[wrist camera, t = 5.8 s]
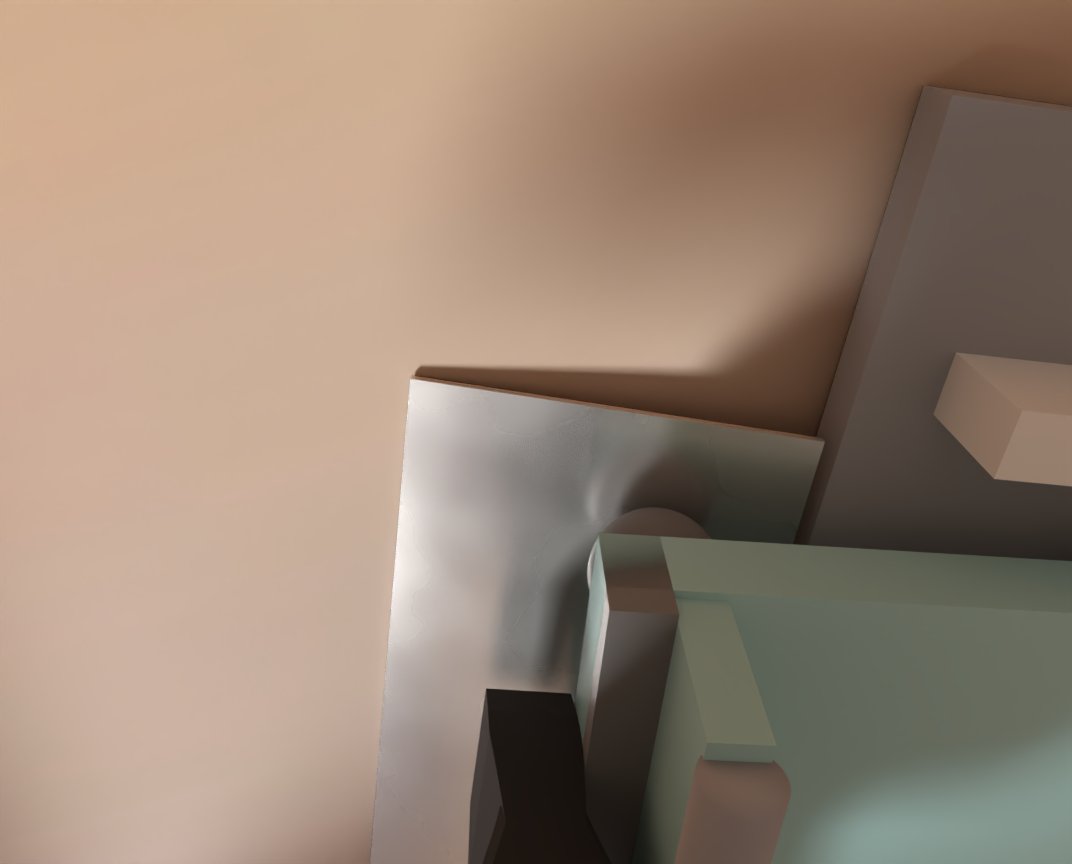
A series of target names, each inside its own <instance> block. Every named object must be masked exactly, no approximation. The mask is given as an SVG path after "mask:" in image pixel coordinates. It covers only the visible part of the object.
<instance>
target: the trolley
mask: <svg viewBox="0 0 1072 864" xmlns="http://www.w3.org/2000/svg"><path fill="white" fill-rule="evenodd" d="M587 579H588V586H589V591H590V596H589V603H588V610H587V617H586V625H585V632H584V639H583V646H582V654H581V661H580V668H579V675H578V683H577V690H576V697H575V704H574V706H575V709H576V713H577V717H578V721H579V726H580V731H581V738H582V745H583V758H584V775H585V794H586V814H587V816H588V818H589V820H590V822H591V824H592V826H593V828H594V830H595V832H596V834H597V836H598V838H599V840H600V842H601V844H602V846H603V848H604V850H605V852H606V854H607V856H608V857H609V859H610V861H611V863H612V864H1072V561H1059V560H1043V559H1026V558H1010V557H993V556H977V555H960V554H944V553H927V552H910V551H894V550H877V549H861V548H844V547H828V546H811V545H795V544H778V543H762V542H745V541H728V540H712V539H711V538H710V537H709V536H708V534H707V533H706V532H705V531H704V529H703V528H702V527H701V526H699V525H698V524H697V523H696V522H695V521H693V520H692V519H690V518H689V517H687V516H685V515H684V514H681V513H679V512H676V511H673V510H670V509H666V508H658V507H649V508H641V509H637V510H633V511H630V512H628V513H626V514H623V515H621V516H620V517H618V518H616V519H615V520H614V521H612V522H611V523H610V524H609V525H608V526H607V527H606V528H605V529H604V530H603V531H602V532H601V533H598V537H597V540H596V542H595V543H594V545H593V548H592V550H591V553H590V557H589V561H588V569H587Z"/></svg>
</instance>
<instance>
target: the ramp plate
mask: <svg viewBox="0 0 1072 864" xmlns="http://www.w3.org/2000/svg"><path fill="white" fill-rule="evenodd" d="M824 443H825V441H824V439H823V438H819V437H812V436H806V435H799V434H793V433H786V432H780V431H773V430H766V429H760V428H753V427H747V426H740V425H734V424H727V423H720V422H714V421H707V420H701V419H694V418H688V417H681V416H674V415H668V414H661V413H655V412H648V411H642V410H635V409H629V408H622V407H615V406H609V405H602V404H596V403H589V402H583V401H576V400H569V399H563V398H556V397H550V396H543V395H537V394H530V393H523V392H517V391H510V390H504V389H497V388H491V387H484V386H477V385H471V384H464V383H458V382H451V381H445V380H438V379H431V378H425V377H418V376H411V378H410V389H409V401H408V413H407V425H406V437H405V449H404V461H403V472H402V484H401V496H400V508H399V520H398V532H397V544H396V556H395V568H394V580H393V592H392V604H391V616H390V628H389V640H388V652H387V664H386V676H385V688H384V700H383V712H382V724H381V736H380V748H379V760H378V772H377V784H376V796H375V808H374V820H373V832H372V844H371V856H370V864H468V850H469V821H470V799H471V792H472V785H473V778H474V771H475V764H476V756H477V749H478V742H479V735H480V728H481V721H482V714H483V707H484V699H485V692H486V688H488V689H505V690H521V691H538V692H554V693H571V695H572V699H573V702H574V704H575V697H576V690H577V683H578V675H579V668H580V661H581V654H582V646H583V639H584V632H585V625H586V617H587V610H588V603H589V596H590V591H589V586H588V579H587V569H588V561H589V557H590V553H591V550H592V548H593V545H594V543H595V542H596V540H597V537H598V533H601V532H602V531H603V530H604V529H605V528H606V527H607V526H608V525H609V524H610V523H611V522H612V521H614V520H615V519H616V518H618V517H620V516H621V515H623V514H626V513H628V512H630V511H633V510H637V509H641V508H649V507H658V508H666V509H670V510H673V511H676V512H679V513H681V514H684V515H685V516H687V517H689V518H690V519H692V520H693V521H695V522H696V523H697V524H698V525H699V526H701V527H702V528H703V529H704V531H705V532H706V533H707V534H708V536H709V537H710V538H711V539H712V540H728V541H745V542H762V543H778V544H793V542H794V539H795V536H796V533H797V530H798V526H799V523H800V520H801V517H802V514H803V510H804V507H805V504H806V501H807V497H808V494H809V491H810V488H811V485H812V481H813V478H814V475H815V472H816V469H817V465H818V462H819V459H820V456H821V453H822V449H823V446H824Z"/></svg>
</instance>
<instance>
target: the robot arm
mask: <svg viewBox="0 0 1072 864" xmlns="http://www.w3.org/2000/svg"><path fill="white" fill-rule="evenodd" d="M468 864H612V863H611V861H610V859H609V857H608V856H607V854H606V852H605V850H604V848H603V846H602V844H601V842H600V840H599V838H598V836H597V834H596V832H595V830H594V828H593V826H592V824H591V822H590V820H589V818H588V816H587V814H586V794H585V775H584V758H583V745H582V738H581V731H580V726H579V721H578V717H577V713H576V709H575V706H574V702H573V699H572V695H571V693H554V692H538V691H521V690H505V689H488V688H486V692H485V699H484V707H483V714H482V721H481V728H480V735H479V742H478V749H477V756H476V764H475V771H474V778H473V785H472V792H471V799H470V821H469V850H468Z"/></svg>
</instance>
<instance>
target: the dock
mask: <svg viewBox="0 0 1072 864" xmlns="http://www.w3.org/2000/svg"><path fill="white" fill-rule="evenodd" d="M816 437H819V438H823V439H824V441H825V443H824V446H823V449H822V453H821V456H820V459H819V462H818V465H817V469H816V472H815V475H814V478H813V481H812V485H811V488H810V491H809V494H808V497H807V501H806V504H805V507H804V510H803V514H802V517H801V520H800V523H799V526H798V530H797V533H796V536H795V539H794V542H793V544H795V545H811V546H828V547H844V548H861V549H877V550H894V551H910V552H927V553H944V554H960V555H977V556H993V557H1010V558H1026V559H1043V560H1059V561H1072V106H1065V105H1058V104H1051V103H1044V102H1037V101H1030V100H1024V99H1017V98H1010V97H1003V96H996V95H989V94H982V93H975V92H968V91H961V90H954V89H947V88H940V87H933V86H926V85H924V86H923V90H922V93H921V96H920V99H919V103H918V106H917V109H916V113H915V116H914V119H913V122H912V126H911V129H910V132H909V135H908V139H907V142H906V145H905V148H904V152H903V155H902V158H901V161H900V165H899V168H898V171H897V174H896V178H895V181H894V184H893V188H892V191H891V194H890V197H889V201H888V204H887V207H886V210H885V214H884V217H883V220H882V223H881V227H880V230H879V233H878V236H877V240H876V243H875V246H874V250H873V253H872V256H871V259H870V263H869V266H868V269H867V272H866V276H865V279H864V282H863V285H862V289H861V292H860V295H859V298H858V302H857V305H856V308H855V311H854V315H853V318H852V321H851V325H850V328H849V331H848V334H847V338H846V341H845V344H844V347H843V351H842V354H841V357H840V360H839V364H838V367H837V370H836V373H835V377H834V380H833V383H832V386H831V390H830V393H829V396H828V400H827V403H826V406H825V409H824V413H823V416H822V419H821V422H820V426H819V429H818V432H817V435H816Z"/></svg>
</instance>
